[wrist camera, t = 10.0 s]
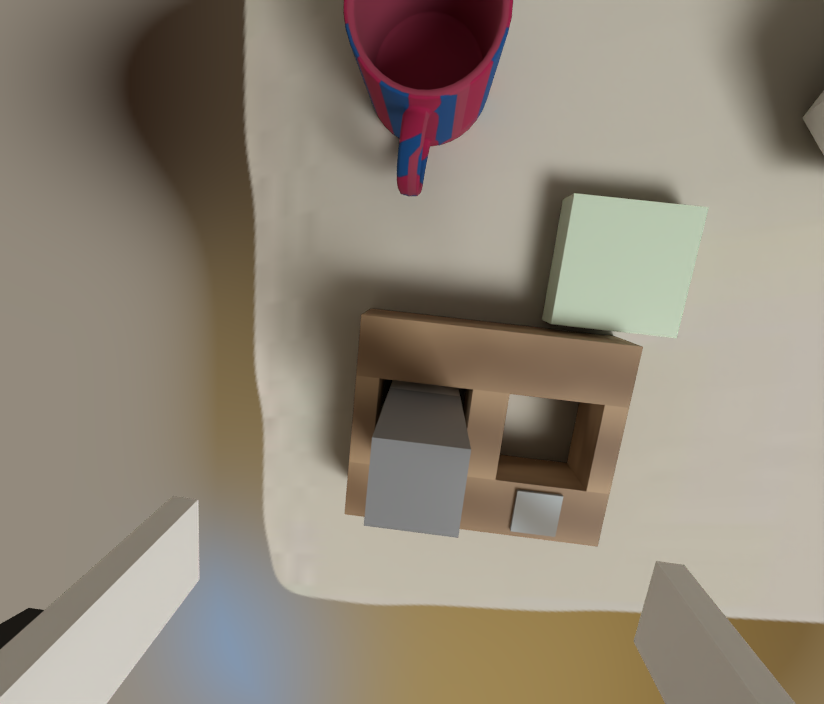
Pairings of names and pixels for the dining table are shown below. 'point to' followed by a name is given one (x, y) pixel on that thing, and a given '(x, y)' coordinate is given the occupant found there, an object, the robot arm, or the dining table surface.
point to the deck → (623, 264)
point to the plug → (418, 461)
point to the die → (816, 121)
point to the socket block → (504, 414)
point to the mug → (426, 69)
